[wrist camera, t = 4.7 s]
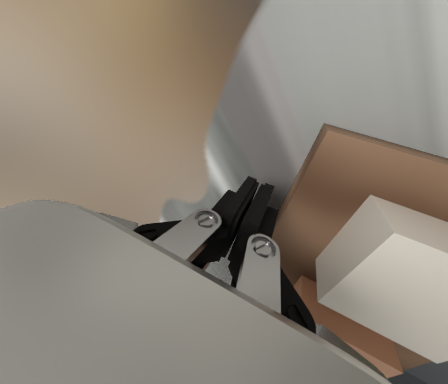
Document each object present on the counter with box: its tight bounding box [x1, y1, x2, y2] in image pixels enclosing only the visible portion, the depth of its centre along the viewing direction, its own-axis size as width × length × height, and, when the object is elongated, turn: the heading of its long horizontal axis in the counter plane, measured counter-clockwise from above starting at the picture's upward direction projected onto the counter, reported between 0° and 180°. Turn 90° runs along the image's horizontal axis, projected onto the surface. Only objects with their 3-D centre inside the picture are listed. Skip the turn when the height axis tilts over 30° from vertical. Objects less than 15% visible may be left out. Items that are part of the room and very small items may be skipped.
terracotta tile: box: [293, 276, 404, 378], centre depth 12 cm, size 6×6×3 cm
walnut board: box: [272, 124, 448, 370], centre depth 13 cm, size 18×13×2 cm
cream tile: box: [316, 195, 448, 364], centre depth 8 cm, size 6×6×3 cm
